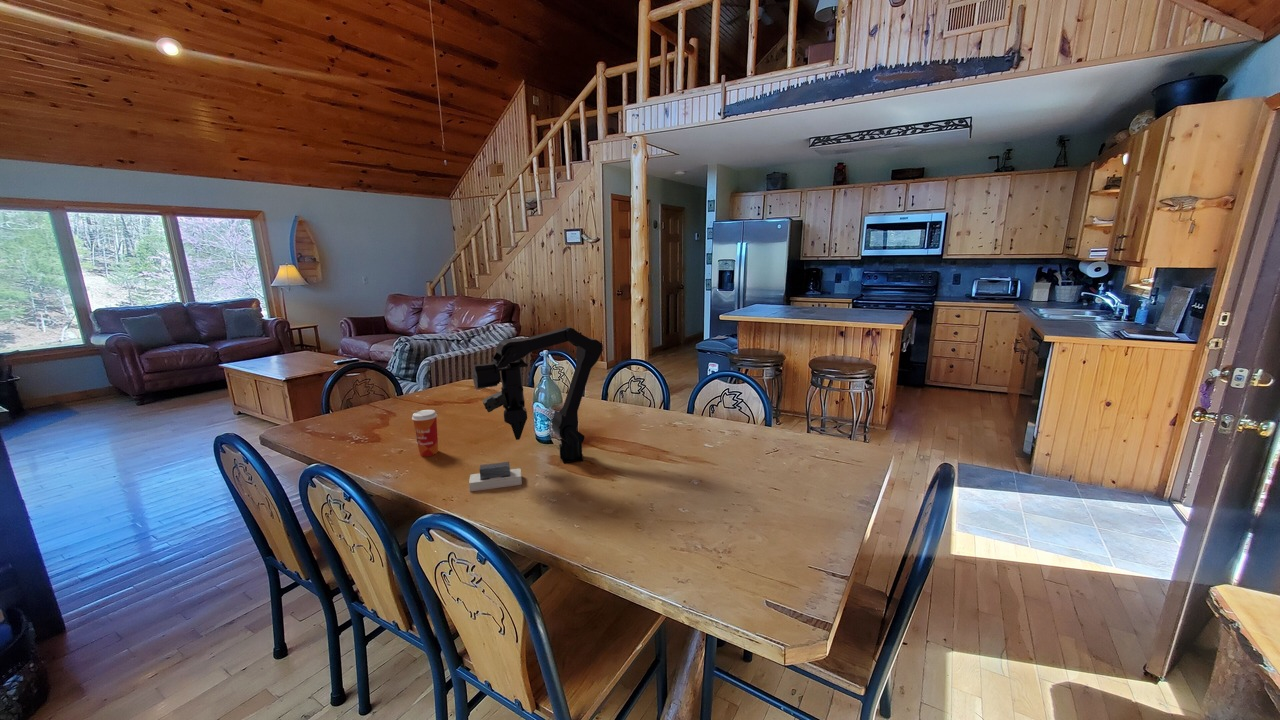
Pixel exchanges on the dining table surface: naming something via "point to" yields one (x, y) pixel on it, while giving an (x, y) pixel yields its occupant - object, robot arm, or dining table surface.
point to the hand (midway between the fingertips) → (517, 434)
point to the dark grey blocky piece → (494, 470)
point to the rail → (495, 481)
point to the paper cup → (426, 432)
